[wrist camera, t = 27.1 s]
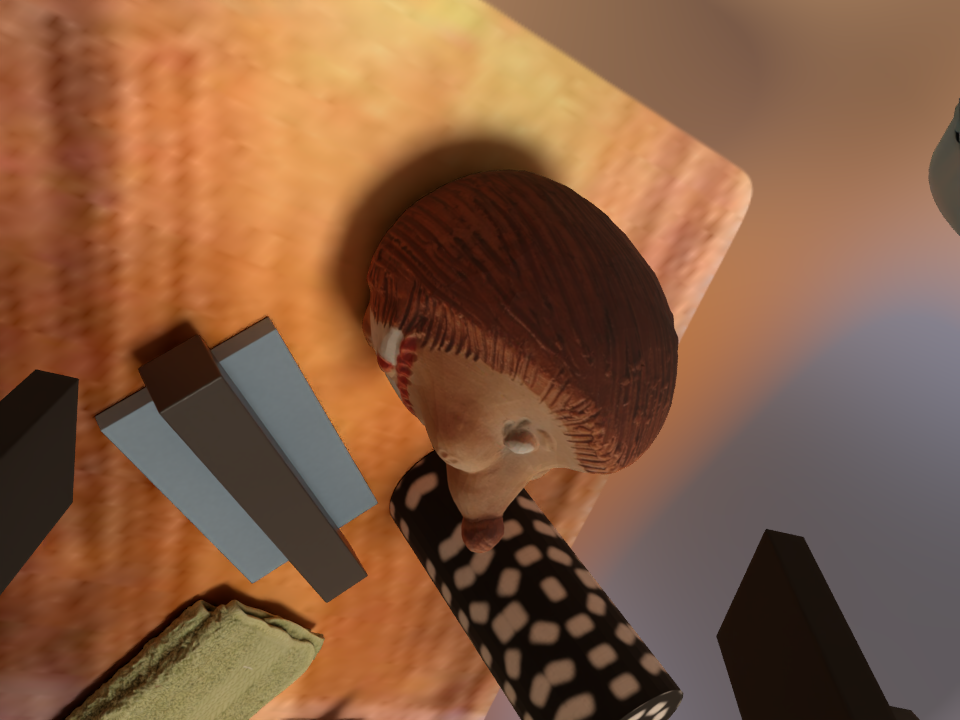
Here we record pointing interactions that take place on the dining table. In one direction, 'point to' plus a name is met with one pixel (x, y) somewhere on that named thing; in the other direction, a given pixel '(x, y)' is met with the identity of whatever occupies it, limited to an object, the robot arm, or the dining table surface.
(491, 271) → the figurine
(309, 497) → the bar
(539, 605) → the white-spotted black cylinder
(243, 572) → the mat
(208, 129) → the dining table surface
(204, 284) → the dining table surface
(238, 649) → the washcloth
